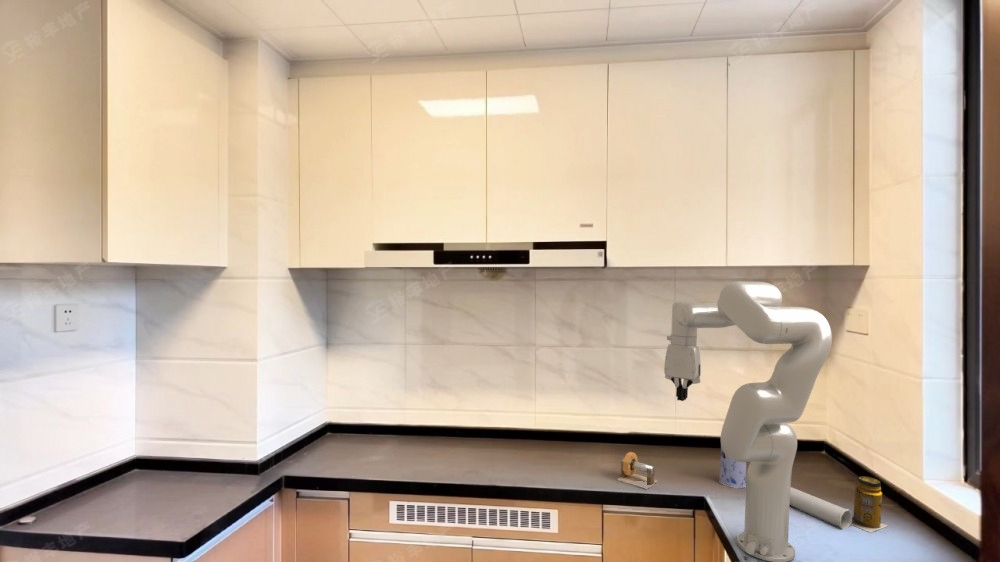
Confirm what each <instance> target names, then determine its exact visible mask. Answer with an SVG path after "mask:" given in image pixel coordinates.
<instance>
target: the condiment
mask: <svg viewBox="0 0 1000 562" xmlns="http://www.w3.org/2000/svg"><path fill="white" fill-rule="evenodd" d="M856 480H857V482H856V486H855V488H854V502H853V504H854V506H853V515H852V523H851V524H850V526H853V527H857V528H858V529H861V530H863V531H866V532H869V533H870V534H872V533H873V532H875V531H879V530H881V529H885V528H886V527H888V526H889V525H888V524H885V523H882V521H881V520H882V508H883V507H882V505H883V504H882V503H883V492H882V487H881V486H882V484H881V481H879V480H878V479H876V478H874V477H870V476H858V477H857V478H856Z"/></svg>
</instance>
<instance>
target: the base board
mask: <svg viewBox="0 0 1000 562" xmlns="http://www.w3.org/2000/svg"><path fill="white" fill-rule="evenodd" d="M620 464H621V465H620V476H619V477H618V478H617V479H616V481H617V480H619V481H623V482H636V481H643V482H645V481H646V482H647V485H652V484H654V482H657V481H658V480H657V479H655V475H656V474H655V473H656V471H655V470H656V467H655V466H654V471H653V472H654V473H653V474H652V473H651V469H647V473H646V476H643V475H639V474H636V473H635V474H633V475H632V476H629V475H625V473H624V471H623V461H622V460H621V462H620ZM619 481H618V482H619ZM657 483H658V482H657Z"/></svg>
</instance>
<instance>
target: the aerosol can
mask: <svg viewBox="0 0 1000 562" xmlns="http://www.w3.org/2000/svg"><path fill="white" fill-rule="evenodd" d="M719 465H720V468H719V480H718V482H719V484H721V483H722V484H723V486H724V485H726V486H725V487H727V486H729V487H728V488H730V487H734V488H733V489H739V488H740V489H745V488H746V480H747V462H736V461H733V460H731V459H729V458H728V457H727V456H726V455H725V453H724V452H723V449H722V446H721V445H720V464H719ZM722 484H721V485H722ZM744 487H745V488H744Z"/></svg>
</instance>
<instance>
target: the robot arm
mask: <svg viewBox="0 0 1000 562" xmlns="http://www.w3.org/2000/svg"><path fill="white" fill-rule="evenodd" d="M719 293H720V294H719V296H718V299H717V302H694V301H689V300H688V301H684V300H681V301H679V300H677V301H674V302H672V306H671V332H670V333H671V334H670V335H667V336H666V340H667V341H669V343H670V344H669V343H668V344H667V348H666V353H665V357H664V358H665V359H664V366H663V367H664V368H663V369H664V370H663V373H664V375H665V376H664V378H665V379H666V380H669V381H671V382H672V383H673V385H674V386H675V387H676V388H675V389H676V390H675V391H676V392H675V393H676V394H675V396H676V397H677V401H680V402H685V401H686V400H687V398H688V391H689V387H691V386H692V385H694V384H696V385H697V384H698V385H699V383H700V384H701V378H700V377H701V371H702V368H701V367H702V365H701V354H700V353H701V352H700V348H699V346H697V345H698V344H697V343H698V342H697V340H698V338H697V337H698V329H720V328H721V329H722V328H727V327H732V326H737V328H738V329H739V330H741V332H743V333H744V334H745V335H746V337H748V338H749V339H750V340H752V341H754V342H755V343H759V344H762V345H789V344H791V345H790V347H789V349H787V350H786V351H785V352H784V353H783V354H782V355H781V356H780V357H779V358H778V360H777V361H776V363H775V365H774V369H773V372H772V374H771V376H770V378H768V380H767V381H764V382H763V381H762V382H749V383H745V384H742V385H741V386H739V387H738V388H737V389H736V391H735V392H734V393H733V395H732V398H731V401H730V403H729V406H728V409H727V412H726V415H725V419H724V422H723V425H722V427H721V431H720V447H721V446H722V449H723V452H724V453H725V455H726V456H727V457H728V458H729V459H731V460H733V461H736V462H746V463H749V465H748V467H747V470H746V487H745V504H744V505H745V509H744V529H743V530H744V531H743V532H741V533H739V534H738V535H737V536H736V537H737V538H736V543H737V546H738V547H739V548H740V549H741V550H742V551H743V552H744V553H746V554H749V555H750V556H752V557H754V558H756V559H760V560H762V561H767V562H791V561H792V560H794V558H795V557H796V549H795V547H794V546H793V545H792V544H791V542H789V531H790V530H789V527H790V523H789V522H790V507H791V506H790V487H792V486H791V485H792V484H791V483H792V472H793V465H794V461H795V458H796V454H797V450H798V437H797V434H796V432H795V430H794V429H793V427H792V426H791V425H790V423H794V422H797V421H798V420H799V419H800V418H801V417H802V415H803V413H804V411H805V409H806V406H807V403H808V401H809V399H810V396H811V394H812V391H813V389H814V386H815V383H816V380H817V378H818V376H819V373H820V372H821V370H822V368H823V366H824V365H825V363H826V361H827V359H828V357H829V355H830V352H831V349H832V344H833V334H832V329H831V325H830V324H829V323H830V322H829V321H828V319H826V317H825V316H824V315H823V314H822V313H821V312H819V311H817V310H815V309H813V308H809V307H803V306H782V303H783V302H782V301H783V295H782V293H781V291H780V290H779V288H778V287H777V286H776V285H774V284H772V283H769V282H765V281H740V280H739V281H732V282H729V283H727V284H726V285H724V287H723V288H722V289H721V291H720V292H719Z"/></svg>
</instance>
